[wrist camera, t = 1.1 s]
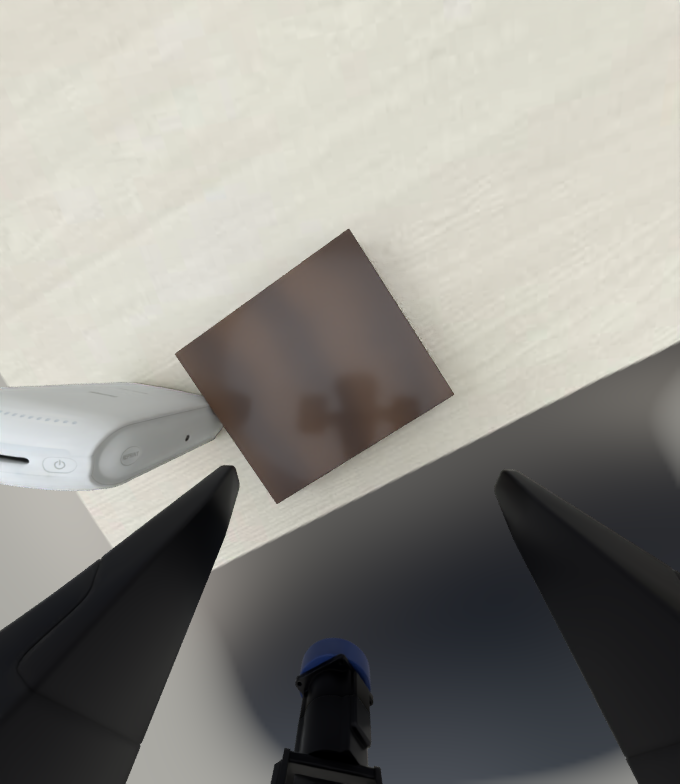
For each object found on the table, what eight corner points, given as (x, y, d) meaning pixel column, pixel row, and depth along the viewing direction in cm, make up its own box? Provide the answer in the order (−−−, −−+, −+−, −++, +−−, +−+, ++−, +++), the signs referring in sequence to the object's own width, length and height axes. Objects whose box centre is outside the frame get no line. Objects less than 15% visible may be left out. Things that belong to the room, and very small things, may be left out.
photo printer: (230, 397, 22) (78, 429, 10) (223, 442, 23) (69, 525, 10) (125, 376, 23) (-146, 382, 10) (120, 420, 23) (-146, 476, 11)
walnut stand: (285, 490, 23) (276, 504, 20) (194, 356, 22) (174, 353, 20) (442, 392, 21) (454, 394, 19) (349, 245, 21) (348, 227, 18)
